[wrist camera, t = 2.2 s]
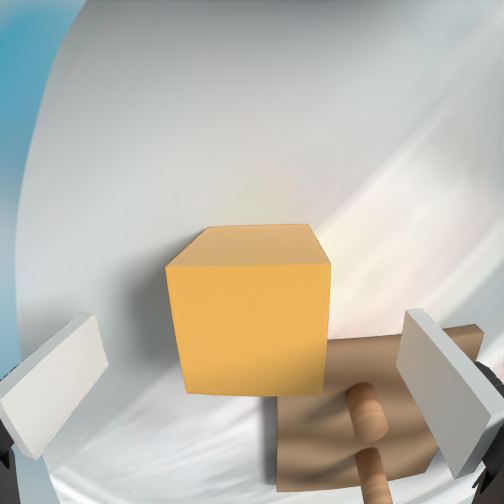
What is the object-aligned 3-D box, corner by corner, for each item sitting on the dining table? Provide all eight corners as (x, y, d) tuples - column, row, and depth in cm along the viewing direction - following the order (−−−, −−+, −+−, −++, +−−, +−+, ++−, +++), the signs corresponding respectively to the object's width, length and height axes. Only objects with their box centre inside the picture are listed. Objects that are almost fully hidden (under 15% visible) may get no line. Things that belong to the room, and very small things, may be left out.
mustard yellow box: (208, 226, 19) (165, 266, 11) (308, 223, 18) (330, 263, 11) (216, 316, 21) (186, 393, 13) (307, 315, 20) (322, 394, 12)
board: (277, 341, 21) (276, 425, 13) (475, 324, 19) (530, 378, 12) (276, 481, 25) (274, 544, 18) (421, 463, 24) (440, 516, 16)
